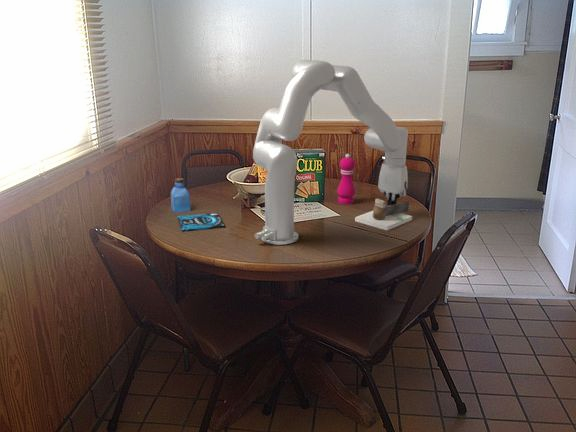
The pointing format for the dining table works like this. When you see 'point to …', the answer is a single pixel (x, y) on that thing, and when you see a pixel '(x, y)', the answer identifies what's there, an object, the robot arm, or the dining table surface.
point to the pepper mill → (346, 181)
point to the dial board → (383, 220)
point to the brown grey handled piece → (388, 209)
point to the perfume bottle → (180, 197)
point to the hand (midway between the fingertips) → (391, 209)
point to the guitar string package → (201, 222)
